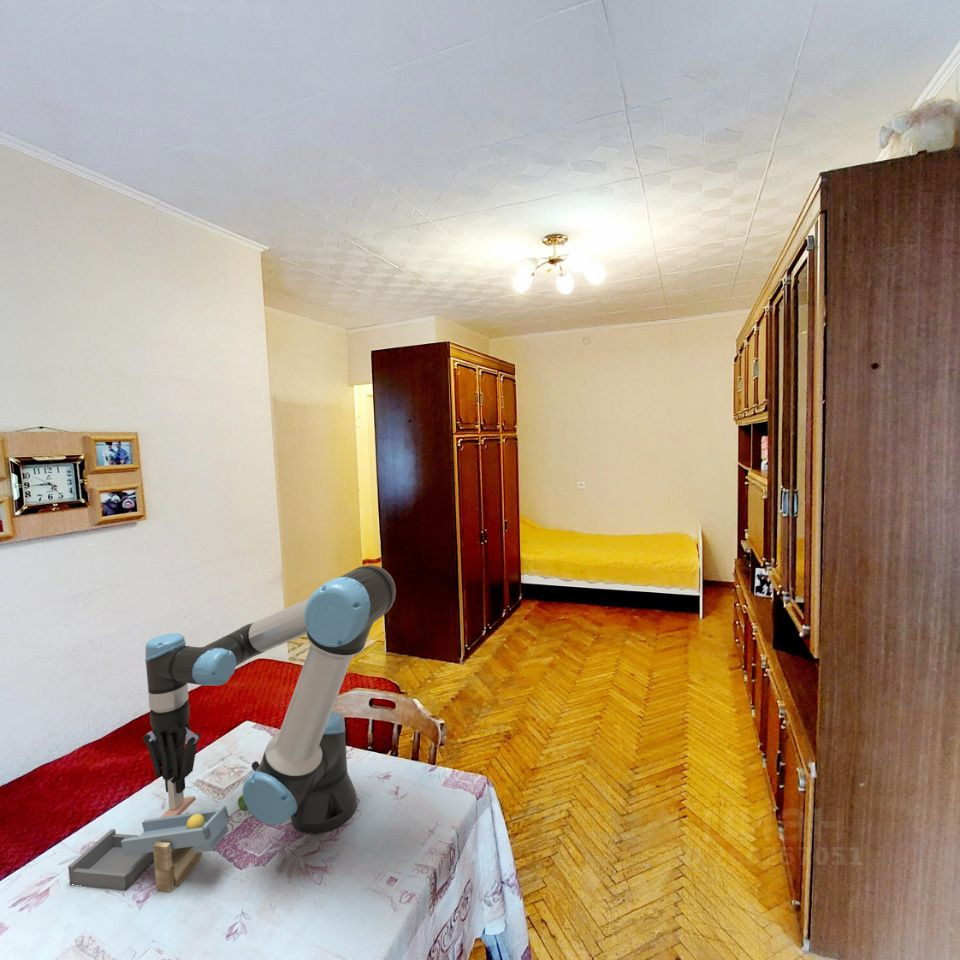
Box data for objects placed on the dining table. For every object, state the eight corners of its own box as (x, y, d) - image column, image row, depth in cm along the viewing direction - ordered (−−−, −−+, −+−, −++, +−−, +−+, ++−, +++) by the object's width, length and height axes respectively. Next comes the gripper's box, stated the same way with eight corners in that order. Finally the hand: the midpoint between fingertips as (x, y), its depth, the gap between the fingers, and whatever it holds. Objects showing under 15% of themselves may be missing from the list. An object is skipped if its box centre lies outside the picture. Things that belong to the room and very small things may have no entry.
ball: (205, 809, 103) (192, 811, 104) (194, 820, 100) (180, 822, 100) (209, 824, 103) (196, 825, 104) (198, 836, 100) (184, 837, 101)
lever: (258, 797, 114) (252, 775, 113) (211, 853, 98) (204, 828, 98) (183, 809, 117) (177, 787, 117) (125, 865, 101) (118, 840, 101)
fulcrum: (204, 856, 107) (200, 813, 107) (172, 892, 98) (168, 847, 98) (187, 854, 108) (184, 812, 107) (154, 891, 99) (150, 845, 99)
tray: (164, 850, 109) (163, 833, 109) (126, 890, 99) (124, 871, 99) (113, 846, 111) (111, 829, 111) (70, 885, 101) (68, 866, 101)
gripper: (207, 697, 115) (213, 795, 116) (156, 695, 117) (164, 791, 118) (183, 714, 107) (190, 819, 109) (129, 711, 109) (137, 814, 111)
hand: (176, 804), depth 113 cm, fingers closed
